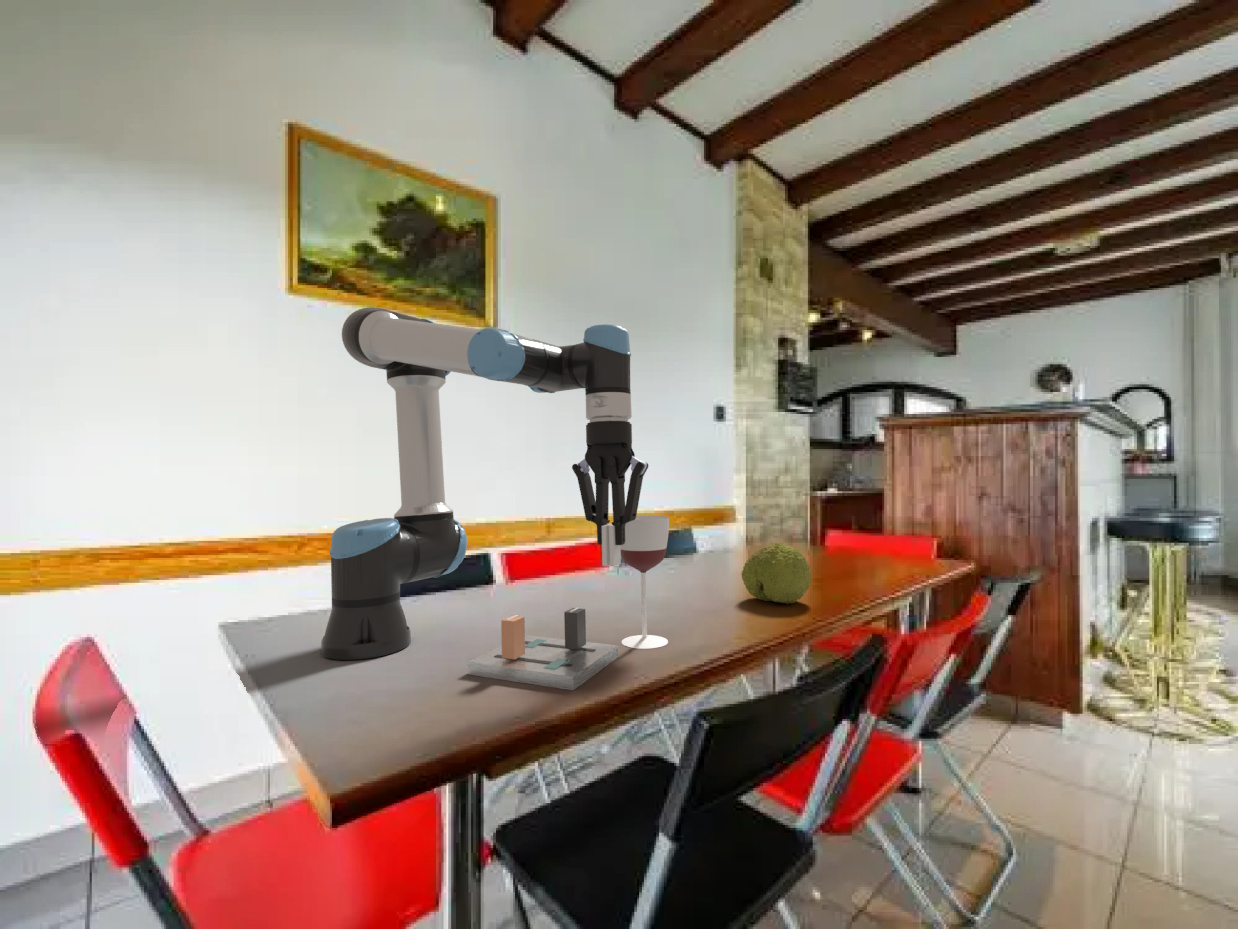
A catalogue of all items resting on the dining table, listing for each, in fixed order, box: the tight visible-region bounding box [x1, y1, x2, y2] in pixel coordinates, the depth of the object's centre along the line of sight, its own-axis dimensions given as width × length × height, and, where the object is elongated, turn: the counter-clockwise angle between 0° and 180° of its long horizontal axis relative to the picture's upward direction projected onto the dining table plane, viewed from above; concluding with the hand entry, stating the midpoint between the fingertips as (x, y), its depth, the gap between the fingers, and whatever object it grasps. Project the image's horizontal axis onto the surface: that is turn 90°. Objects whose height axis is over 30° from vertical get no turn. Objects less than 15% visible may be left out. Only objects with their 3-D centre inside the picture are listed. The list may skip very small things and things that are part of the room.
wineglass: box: [620, 515, 670, 650], centre depth 107 cm, size 9×10×23 cm
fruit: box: [740, 543, 812, 605], centre depth 137 cm, size 16×14×15 cm
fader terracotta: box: [500, 614, 526, 660], centre depth 92 cm, size 2×3×6 cm
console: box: [466, 634, 619, 691], centre depth 95 cm, size 19×16×2 cm
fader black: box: [563, 607, 587, 649], centre depth 97 cm, size 2×3×6 cm
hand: (611, 564), depth 94 cm, fingers closed
